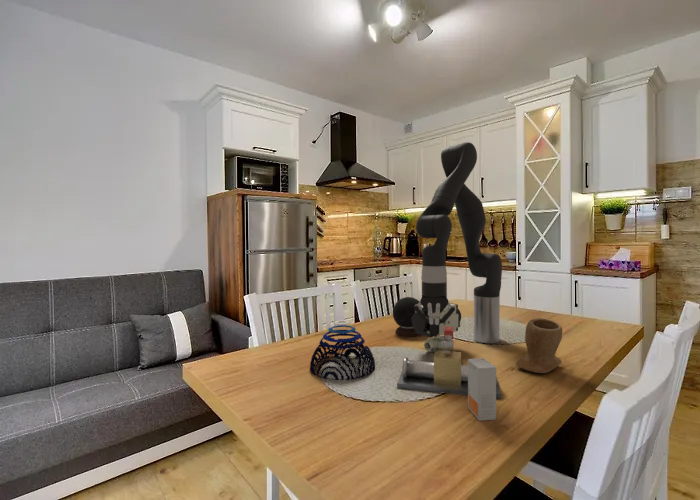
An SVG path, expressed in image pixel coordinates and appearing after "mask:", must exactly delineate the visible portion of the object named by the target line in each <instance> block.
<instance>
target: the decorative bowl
mask: <svg viewBox="0 0 700 500" xmlns="http://www.w3.org/2000/svg"><path fill="white" fill-rule="evenodd" d="M350 323H351V321H349V320H336V321H334V322H333V324H334V326H331V327H329V328H328V332H325V333H324V334H323V335H322V337H321V338H320V340H319V344H318V346H317V347H316V348H315V350H314V351H313V354H312V355H311V360H310V363H309V371H310V372H311V374H313V375H314V376H316V377H318V378H321V379H323V380H331V381H332V380H333V381H349V380H357V379H361V378H364V377H368V375H370V374H372V373H374V371H375V370H376V363H375V358H374V354H373V352H372V350H371V348H370V347H368V346H367V345H364V344H365V339H364V337H363V336H362V333H360V332H359V331H356V327H355V326H352V325H350ZM344 327H345V328H349V329H337V328H344ZM341 336H342V337H348V338H337V339H335V338H333V337H341ZM359 339H360V341H359ZM324 340H325V341H324ZM329 342H331V343H335V344H329ZM351 354H354V355H355V356H351ZM316 355H317V356H318V357H317V356H316ZM351 358H355V359H358V360H357V361H358V362H357V367H356V365H355V363H354V362H353V360H352V359H351ZM334 359H335V360H334ZM336 359H337V360H336ZM338 360H339V361H340V362H339V361H338ZM322 361H323V362H322ZM330 363H334V365H335V364H336V365H337V366H339V367H340V369H341V370H340V369H339V368H337V366H331V365H328V366H326V367H324V368H323V369H322V367H323V366H324V365H326V364H330ZM343 365H344V366H346V368H345V367H344V366H343ZM351 368H352V369H351ZM328 369H333V370H336V371H337V373H336V371H331V370H330V371H329V370H328ZM347 369H348V372H349V373H348V372H347ZM326 370H327V371H326ZM342 372H344V374H343V373H342ZM338 373H339V374H338ZM353 373H354V375H353ZM319 374H320V375H319ZM331 375H332V376H333V378H328V377H329V376H331ZM339 375H340V378H339ZM344 375H345V377H346V378H345V377H344Z"/></svg>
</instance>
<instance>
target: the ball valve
mask: <svg viewBox="0 0 700 500" xmlns="http://www.w3.org/2000/svg"><path fill="white" fill-rule="evenodd" d="M449 304H451V305H452V306H455V311H454V312H453V313H452V314H451V316H450V317H449V318H448V319H447V320H446V321H445V323H441V324H440V325H439V335H437V337H433V336H432V334H430V324H429V323H427V322H424V321H423V320H422V318H421V317H420V316H419V315H418V313H417V312H416V311H415V313H414V314H413V316H412V326H413V328H414V329H415V330H416V333H417V334H421V336H424V337H427V339H426V340H425V341H424V344H423V348H424V350H425V351H427V352H429V353H435V350H440V351H445V350H444V349H442V340H443V339H444V328H445V327H453V333H456V332H458V331H459V328H460V327H461V320H462V312H461V310H460V309H459V304H457V303H451V302H449ZM422 311H423V312H424V313H425V315H426V316H427V317H428V318H429V315H428V312H427V311H426V310H425V309H424V307H423V306H422ZM446 313H447V306H446V308H445V309H444V310H443V311H442V312H441V313H440V319H441V318H442V317H443V316H444V315H445V314H446ZM435 314H436V313H433V316H434V323H435Z"/></svg>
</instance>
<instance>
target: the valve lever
mask: <svg viewBox="0 0 700 500" xmlns="http://www.w3.org/2000/svg"><path fill="white" fill-rule="evenodd" d="M443 336H444V339H443V340H442V349H444V350H451V351H452V350H454V349H455V348H454V347H455V346H454V332H453V327H445V328H444V335H443Z"/></svg>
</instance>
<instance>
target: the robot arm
mask: <svg viewBox="0 0 700 500" xmlns="http://www.w3.org/2000/svg"><path fill="white" fill-rule="evenodd" d="M477 152H478V151H477V148H476V147H475V145H474V144H473V143H472V142H461V143H457V144H454V145H450V146H447V147H444V148H443V149H442V150H441V153H440V161H441V165H442V166H441V167H442V169H443V172H444V175H445V177H446V178H445V179H444V180H443V181H442V182H441V183H440V184H439V185H438V187H437V188H436V190H435V192H434V194H433V196H432V199H431V202H430V203H429V204H428V205H427V207H426V208H425V209H424V210H423V211H422V213H421V214H420V215H419V217H418V218H417V220H416V225H415V231H416V233H417V235H418V236H419V237H420V238H422V239H436V240H435V242H434V244H432V245H428V246H425V247H423V248H422V253H421V254H422V255H421V256H422V259H421V261H422V263H421V264H422V267H421V276H420V278H421V298H420V299H419V301H420V303H418V304H416V305H415V306H414V309H415V311H416V312H417V313H418V315H419V316H420V317H421V318H422V320H423V321H424V322H427V323H429V324H430V334H432V336H433V337H432V338H434V337H437V335H439V325H440V324H441V323H445V321H446V320H447V319H448V318H449V317H450V316H451V314H452V313H453V312H454V311H455V306H452V305H451V304H449V303H450V302H449V299H448V291H447V290H448V287H447V286H448V284H447V283H448V278H447V277H448V276H447V275H448V274H447V273H448V271H447V261H446V260H447V259H446V258H447V257H446V256H447V248H448V245H449V241H450V236H451V233H452V227H453V224H452V221H451V218H450V217H449V216H450V214H451V213H452V212H453V209H454V206H455V209H456V215H457V218H458V222H459V225H460V229H461V232H462V236H463V241H464V245H465V251H466V257H467V263H468V268H469V272H470V273H471V274H472V276H474V277H477V278H484V279H485V283H483V284H481V285H478V286H475V287H474V288H473V340H474V341H476V342H478V343H482V344H496V343H499V342H500V331H501V329H500V327H501V325H500V324H501V323H500V314H501V313H500V312H501V311H500V294H501V293H500V292H501V288H502V278H503V277H502V275H503V274H502V273H503V261H502V258H501V256H500V255H499V254H497V253H484V252H483V253H482V250H481V247H480V239H481V236H482V233H483V231H484V228H485V226H486V218H487V217H486V213H485V210H484V206H483V202H482V201H481V199H480V198H479V197H478V196H477V195H476V194H475V193H474V192H473V191H472V190H471V189H470V188H469V187H468V186H467V185H466V181H467V179H468V178H469V176H470V175H471V173H472V171H473V170H474V168H475V167H476V163H477V160H478V153H477ZM422 306H423V307H424V309H425V310H426V311H427V312H428V315H429V318H428V317H427V316H426V315H425V313H424V312H423V311H422ZM446 306H447V313H446V314H445V315H444V316H443V317H442V318H441V319H440V313H441V312H442V311H443V310H444V309H445V308H446ZM433 313H436V314H435V323H434V316H433Z"/></svg>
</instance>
